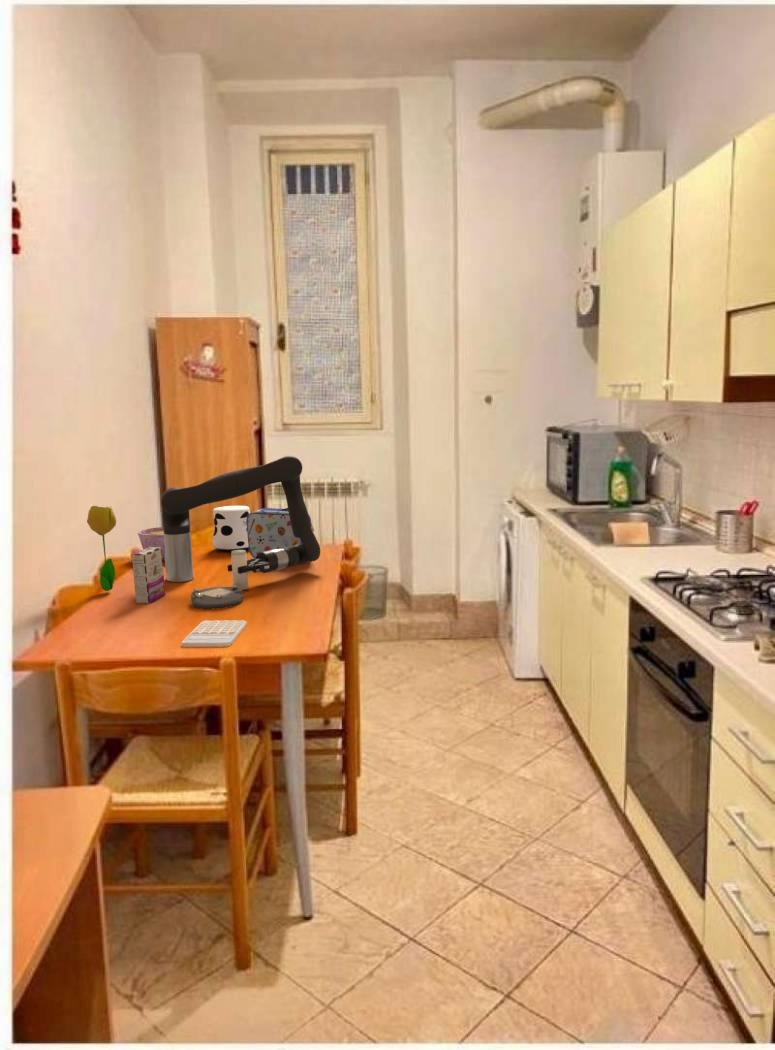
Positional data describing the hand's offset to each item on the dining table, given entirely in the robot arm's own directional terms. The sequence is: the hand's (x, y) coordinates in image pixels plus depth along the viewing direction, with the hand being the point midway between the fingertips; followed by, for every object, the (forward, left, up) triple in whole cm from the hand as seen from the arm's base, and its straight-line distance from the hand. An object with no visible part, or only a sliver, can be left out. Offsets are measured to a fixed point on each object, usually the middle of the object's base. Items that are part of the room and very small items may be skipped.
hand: (233, 569), depth 256 cm
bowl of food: (-68, +17, -8) cm, 70 cm away
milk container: (-59, +45, -8) cm, 74 cm away
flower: (-34, -27, -8) cm, 44 cm away
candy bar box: (-14, -23, -8) cm, 28 cm away
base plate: (+7, -12, -7) cm, 16 cm away
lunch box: (-24, +42, -8) cm, 49 cm away
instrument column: (0, +3, -7) cm, 7 cm away
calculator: (+35, -33, -8) cm, 49 cm away
